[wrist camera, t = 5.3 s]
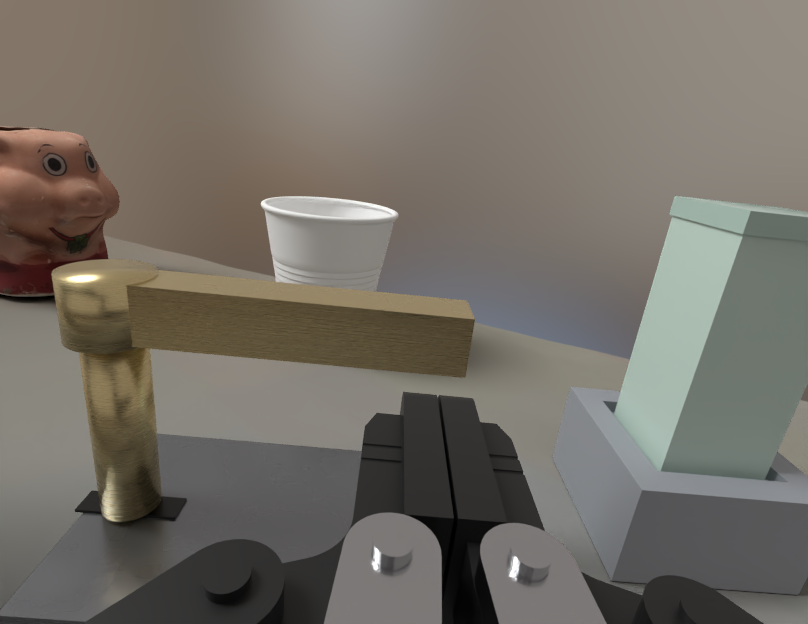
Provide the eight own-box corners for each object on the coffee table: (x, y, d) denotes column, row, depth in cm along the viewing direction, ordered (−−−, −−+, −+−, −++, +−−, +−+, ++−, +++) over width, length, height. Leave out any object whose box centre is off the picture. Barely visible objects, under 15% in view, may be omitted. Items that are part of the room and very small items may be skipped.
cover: (766, 486, 20) (883, 225, 16) (657, 477, 20) (750, 210, 16) (699, 423, 24) (779, 207, 21) (610, 415, 24) (674, 195, 20)
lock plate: (-3, 662, 14) (-17, 612, 13) (148, 468, 23) (144, 430, 22) (436, 691, 15) (445, 644, 14) (423, 490, 23) (428, 455, 23)
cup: (405, 363, 36) (422, 220, 33) (273, 379, 32) (276, 216, 28) (359, 317, 45) (369, 199, 41) (250, 324, 40) (250, 193, 37)
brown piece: (69, 527, 16) (27, 278, 13) (115, 473, 19) (88, 255, 16) (438, 555, 17) (478, 322, 14) (432, 499, 20) (465, 293, 17)
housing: (798, 594, 20) (844, 507, 18) (611, 580, 19) (642, 489, 18) (688, 469, 27) (714, 400, 26) (552, 457, 27) (570, 386, 25)
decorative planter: (-129, 278, 41) (-178, 104, 36) (15, 252, 52) (-8, 117, 48) (51, 323, 36) (21, 131, 32) (167, 284, 48) (158, 138, 43)
